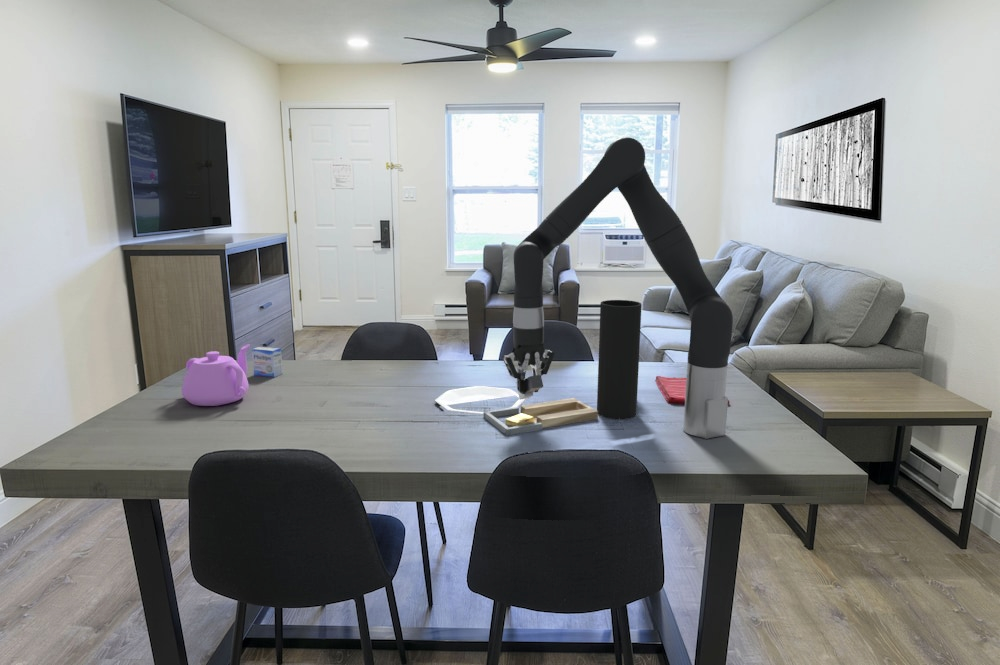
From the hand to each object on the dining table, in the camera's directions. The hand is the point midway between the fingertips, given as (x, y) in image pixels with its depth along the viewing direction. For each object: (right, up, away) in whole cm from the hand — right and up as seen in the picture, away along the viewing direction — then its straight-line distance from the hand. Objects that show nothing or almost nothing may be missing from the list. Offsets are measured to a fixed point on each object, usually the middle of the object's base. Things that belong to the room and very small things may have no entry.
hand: (528, 392), depth 164 cm
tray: (-4, -9, 0) cm, 10 cm away
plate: (-13, -5, +19) cm, 23 cm away
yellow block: (-1, -8, +1) cm, 8 cm away
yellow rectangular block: (-3, -9, -1) cm, 9 cm away
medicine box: (-81, +1, +47) cm, 94 cm away
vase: (+23, -7, +8) cm, 26 cm away
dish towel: (+48, -3, +29) cm, 57 cm away
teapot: (-86, -4, +23) cm, 89 cm away
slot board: (+8, -8, +6) cm, 12 cm away
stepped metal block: (-2, 0, +3) cm, 4 cm away
